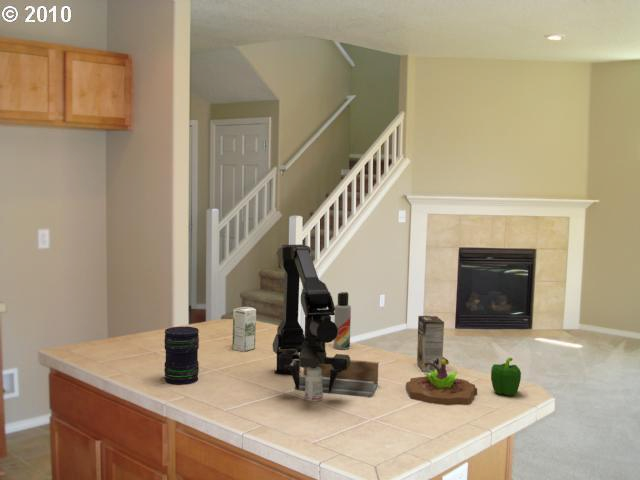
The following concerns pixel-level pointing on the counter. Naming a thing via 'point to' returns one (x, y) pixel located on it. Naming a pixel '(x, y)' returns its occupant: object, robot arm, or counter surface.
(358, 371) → the cleat board
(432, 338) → the coffee box
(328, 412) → the counter surface
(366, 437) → the counter surface
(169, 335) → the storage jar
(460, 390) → the plant
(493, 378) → the bell pepper
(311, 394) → the pill bottle
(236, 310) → the syrup box
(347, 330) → the lotion bottle
